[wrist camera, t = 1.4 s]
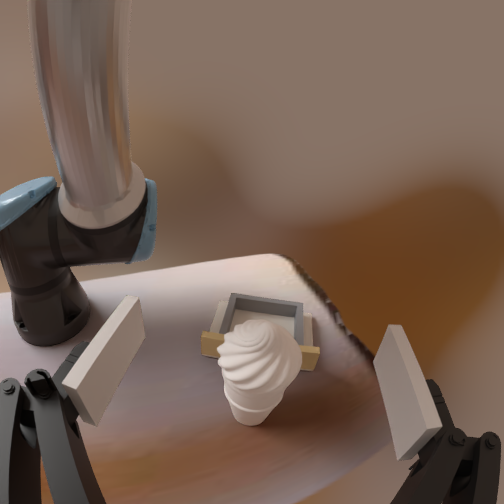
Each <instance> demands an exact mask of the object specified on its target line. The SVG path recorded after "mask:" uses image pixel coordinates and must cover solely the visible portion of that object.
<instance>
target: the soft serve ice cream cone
mask: <svg viewBox="0 0 504 504" xmlns="http://www.w3.org/2000/svg"><path fill="white" fill-rule="evenodd" d="M224 340H225V341H224V343H223V344H222V345H220V346H219V347H218V348H217V351H218V353H219V354H220V356H221V357H220V358H219V360H218V365H219V366H220V367H222V376H223V379H224V382H225V383H224V392H225V395H226V398H227V399H228V401H229V404H230V407H231V410H232V413H233V415H234V417H235V419H236V420H237V421H238V422H240V423H241V424H244V425H248V426H254V425H258V424H260V423H262V422H263V421H264V420H265V419H266V417H267V416H268V415H269V414H270V412H271V411H272V410H273V408H274V407H276V406H277V405H278V404H279V403H280V401H281V400H282V397H283V394H284V391H285V389H286V388H287V387H288V385H289V384H290V383H291V382H292V381H293V380H294V379H295V377H296V376H297V374H298V373H299V371H300V368H301V365H302V353H301V349H300V347H299V345H298V343H297V342H296V340H295V339H294V338H293V336H292V335H291V334H290V333H289V332H288V331H287V330H286V329H284V328H283V327H281V326H279V325H277V324H275V323H272V322H270V321H267V320H261V319H260V320H248V321H246V322H244V323H243V324H239V325H236V326H235V327H234V331H232V332H229V333H226V334H225V335H224Z"/></svg>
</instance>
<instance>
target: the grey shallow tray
mask: <svg viewBox="0 0 504 504" xmlns="http://www.w3.org/2000/svg"><path fill="white" fill-rule="evenodd" d="M260 319H261V320H267V321H270V322H272V323H275V324H277V325H279V326H281V327H283V328H284V329H286V330H287V331H288V332H289V333H290V334H291V335H292V336H293V338H294V339H295V340H296V342H297V343H298V345H299V347H300V349H301V353H302V365H301V368H300V370H305V371H313V370H314V368H315V366H316V363H317V360H318V357H319V355H320V347H313V333H312V314H310V313H303V303H299V302H291V301H284V300H277V299H269V298H262V297H255V296H249V295H242V294H235V293H231V296H230V299H229V302H225V301H220V302H219V305H218V308H217V311H216V313H215V316H214V319H213V322H212V325H211V328H210V330H209V332H208V331H203V332H202V335H201V354H202V355H203V356H208V357H214V358H220V357H221V356H220V354H219V353H218V351H217V348H218V347H219V346H220V345H222V344H223V343H224V341H225V340H224V335H225V334H226V333H229V332H232V331H234V327H235V326H236V325H239V324H243V323H244V322H246V321H248V320H260Z"/></svg>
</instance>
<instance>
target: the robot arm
mask: <svg viewBox="0 0 504 504" xmlns="http://www.w3.org/2000/svg"><path fill="white" fill-rule="evenodd" d="M131 7H132V0H27V8H28V24H29V36H30V45H31V53H32V61H33V67H34V74H35V79H36V85H37V90H38V94H39V100H40V104H41V109H42V113H43V117H44V121H45V125H46V129H47V133H48V137H49V140H50V143H51V147H52V151H53V154H54V157H55V160H56V164H57V167H58V170H59V173H60V176H61V179H62V182H63V183H62V184H61V187H56V186H57V182H56V180H55V178H54V177H42V178H37V179H34V180H31V181H28V182H26V183H23V184H21V185H18V186H16V187H14V188H12V189H10V190H8V191H7V192H5V193H3V194H2V195H0V260H1V263H2V266H3V269H4V272H5V275H6V278H7V281H8V284H9V286H10V290H11V298H12V310H13V320H14V323H15V326H16V328H17V330H18V332H19V334H20V336H21V337H22V338H23V339H24V340H25V341H27V342H29V343H31V344H34V345H39V346H48V345H54V344H58V343H61V342H63V341H66V340H68V339H69V338H71V337H73V336H74V335H76V334H77V333H78V332H79V331H80V330H81V329H82V328H83V327H84V325H85V324H86V322H87V321H88V318H89V315H90V305H89V301H88V298H87V295H86V293H85V291H84V289H83V288H82V286H81V285H80V283H79V282H78V280H77V279H76V277H75V276H74V274H73V273H72V271H71V269H70V267H71V266H86V265H101V264H115V263H125V264H130V263H132V262H138V261H145V260H147V259H149V258H150V257H151V256H152V254H153V251H154V246H155V238H156V219H157V188H156V183H155V182H154V181H153V180H148V179H146V178H144V175H143V172H142V171H141V169H140V168H139V167H138V166H137V165H136V164H135V163H134V162H132V161H131V148H130V131H129V107H128V106H129V105H128V58H129V57H128V56H129V55H128V54H129V34H130V18H131ZM145 337H146V335H145V330H144V324H143V318H142V312H141V306H140V300H139V297H134V296H128V295H126V297H125V298H124V299H123V300H122V302H121V303H120V304H119V306H118V307H117V308H116V309H115V311H114V312H113V313H112V315H111V316H110V317H109V318H108V320H107V321H106V322H105V324H104V325H103V326H102V328H101V329H100V330H99V332H98V333H97V334H96V336H95V337H94V338H93V340H92V341H91V342H90V343H88V342H85V341H83V342H81V343H80V344H78V345H77V346H75V347H74V349H73V350H72V351H71V353H70V355H68V357H67V358H66V359H65V361H64V362H63V363H62V365H61V366H60V367H59V369H58V370H57V372H56V373H55V374H54V376H53V377H52V378H51V376H50V374H49V373H48V372H47V371H46V370H43V369H35V370H33V371H31V372H30V373H28V374H27V376H26V378H25V382H24V383H25V385H26V387H23V386H21V385H20V384H19V382H18V381H17V380H16V379H14V378H7V379H5V380H3V381H2V382H1V383H0V504H42V503H41V479H40V459H41V456H42V461H43V465H44V469H45V473H46V477H47V481H48V485H49V488H50V492H51V495H52V498H53V501H54V504H106V502H105V500H104V497H103V495H102V493H101V490H100V488H99V485H98V483H97V480H96V478H95V475H94V472H93V470H92V467H91V464H90V461H89V458H88V456H87V452H86V449H85V446H84V443H83V440H82V437H81V433H80V430H79V426H78V423H77V421H76V419H77V417H78V415H80V417H81V419H82V420H83V421H84V422H86V423H89V424H91V425H94V426H98V424H99V422H100V420H101V418H102V416H103V414H104V412H105V410H106V408H107V406H108V404H109V402H110V401H111V399H112V397H113V395H114V393H115V391H116V389H117V387H118V386H119V384H120V382H121V380H122V378H123V376H124V375H125V373H126V371H127V369H128V367H129V365H130V364H131V362H132V360H133V358H134V357H135V355H136V353H137V351H138V349H139V348H140V346H141V344H142V342H143V341H144V339H145ZM373 363H374V367H375V370H376V374H377V378H378V381H379V385H380V389H381V392H382V396H383V400H384V404H385V408H386V412H387V417H388V421H389V425H390V429H391V434H392V438H393V443H394V448H395V453H396V457H397V461H402V460H408V459H412V458H413V457H414V456H415V455H416V454H417V453H418V455H419V460H417V461H416V462H415V463H414V464H413V465H412V466H411V467H410V468H409V470H411V469H412V468H413V469H412V470H411V472H410V474H409V476H408V477H407V479H406V480H405V482H404V484H403V485H402V487H401V488H400V490H399V491H398V493H397V494H396V496H395V498H394V499H393V500H392V502H391V503H390V504H441V503H442V504H496V501H497V493H498V485H499V475H500V460H501V442H500V439H499V437H498V436H497V435H496V434H495V433H493V432H486V433H484V434H483V435H482V436H481V437H480V438H474V437H467V436H466V435H465V433H464V432H463V431H462V430H461V429H458V428H455V426H454V424H453V421H452V418H451V416H450V413H449V411H448V408H447V406H446V403H445V401H444V398H443V397H442V393H441V391H440V388H439V386H438V385H437V384H436V383H435V382H434V381H433V380H432V379H430V380H425V378H424V376H423V373H422V371H421V369H420V366H419V364H418V362H417V359H416V357H415V354H414V352H413V350H412V348H411V345H410V343H409V341H408V339H407V337H406V335H405V332H404V330H403V328H402V326H401V325H389V326H388V328H387V330H386V333H385V335H384V338H383V340H382V343H381V345H380V347H379V350H378V352H377V354H376V357H375V359H374V361H373Z"/></svg>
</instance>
